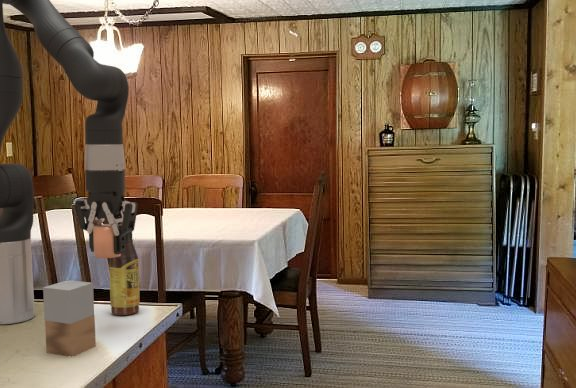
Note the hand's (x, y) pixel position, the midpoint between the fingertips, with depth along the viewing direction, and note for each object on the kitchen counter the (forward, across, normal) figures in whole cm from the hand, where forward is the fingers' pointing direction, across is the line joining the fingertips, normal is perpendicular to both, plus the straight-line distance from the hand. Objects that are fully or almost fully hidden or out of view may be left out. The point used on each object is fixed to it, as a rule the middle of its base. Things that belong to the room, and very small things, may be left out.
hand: (107, 252), depth 120 cm
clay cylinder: (+1, 0, 0) cm, 1 cm away
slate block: (+10, +1, -12) cm, 16 cm away
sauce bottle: (+16, -5, +11) cm, 20 cm away
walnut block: (+16, +1, -12) cm, 20 cm away
